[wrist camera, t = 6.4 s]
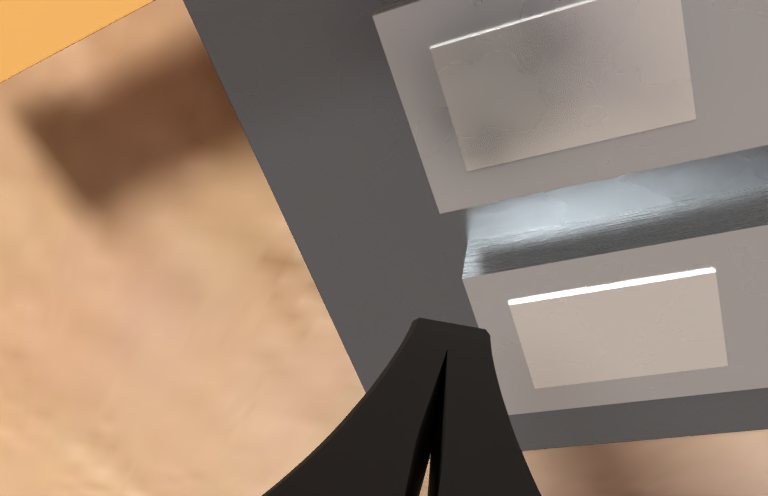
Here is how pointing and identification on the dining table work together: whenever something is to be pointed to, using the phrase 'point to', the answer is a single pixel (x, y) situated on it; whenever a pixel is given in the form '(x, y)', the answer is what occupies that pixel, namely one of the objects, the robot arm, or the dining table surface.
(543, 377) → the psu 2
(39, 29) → the orange wooden bar
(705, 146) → the block
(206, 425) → the dining table surface
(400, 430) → the robot arm
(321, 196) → the dark grey panel board
